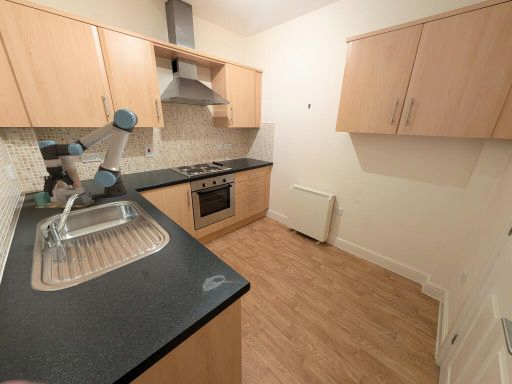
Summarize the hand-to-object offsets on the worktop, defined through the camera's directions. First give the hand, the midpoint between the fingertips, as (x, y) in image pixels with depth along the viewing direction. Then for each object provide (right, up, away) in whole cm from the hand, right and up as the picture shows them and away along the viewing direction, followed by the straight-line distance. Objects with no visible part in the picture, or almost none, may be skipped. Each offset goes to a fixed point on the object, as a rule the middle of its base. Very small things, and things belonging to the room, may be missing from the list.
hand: (63, 197), depth 133 cm
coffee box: (-18, 0, +17) cm, 25 cm away
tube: (+4, -4, +2) cm, 6 cm away
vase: (-25, +7, +35) cm, 44 cm away
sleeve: (+9, -5, +2) cm, 11 cm away
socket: (-12, -5, +1) cm, 13 cm away
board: (0, -5, +2) cm, 5 cm away
